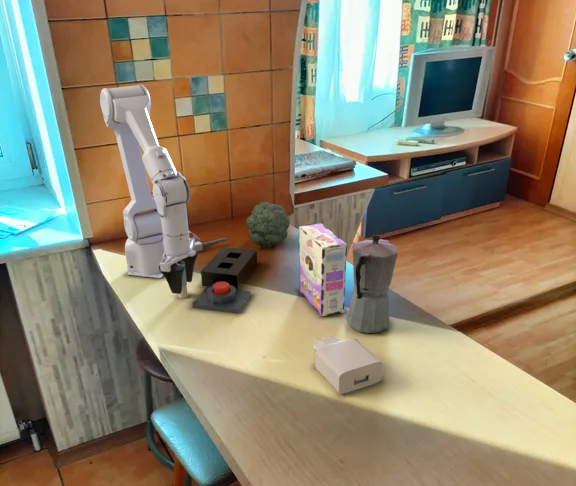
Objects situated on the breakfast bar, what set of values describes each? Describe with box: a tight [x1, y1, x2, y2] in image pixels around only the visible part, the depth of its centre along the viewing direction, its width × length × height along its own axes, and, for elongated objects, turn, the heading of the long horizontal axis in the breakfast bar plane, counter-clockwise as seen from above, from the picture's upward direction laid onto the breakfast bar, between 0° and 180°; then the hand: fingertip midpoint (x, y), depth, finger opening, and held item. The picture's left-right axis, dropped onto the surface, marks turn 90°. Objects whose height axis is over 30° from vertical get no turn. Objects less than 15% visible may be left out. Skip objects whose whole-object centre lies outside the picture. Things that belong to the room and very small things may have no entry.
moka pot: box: [346, 234, 398, 334], centre depth 121 cm, size 10×15×20 cm, turn 155°
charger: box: [312, 335, 384, 395], centre depth 111 cm, size 5×9×15 cm
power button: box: [213, 282, 229, 295], centre depth 134 cm, size 4×4×2 cm
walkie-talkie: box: [189, 230, 228, 252], centre depth 162 cm, size 9×4×20 cm
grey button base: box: [191, 285, 252, 314], centre depth 135 cm, size 11×9×3 cm
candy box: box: [298, 223, 348, 317], centre depth 131 cm, size 14×6×16 cm, turn 20°
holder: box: [200, 246, 258, 290], centre depth 147 cm, size 9×15×4 cm, turn 165°
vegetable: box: [245, 201, 290, 249], centre depth 164 cm, size 12×13×15 cm
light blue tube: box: [176, 260, 189, 299], centre depth 136 cm, size 2×2×9 cm
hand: (182, 287), depth 137 cm, fingers open, 5 cm apart
